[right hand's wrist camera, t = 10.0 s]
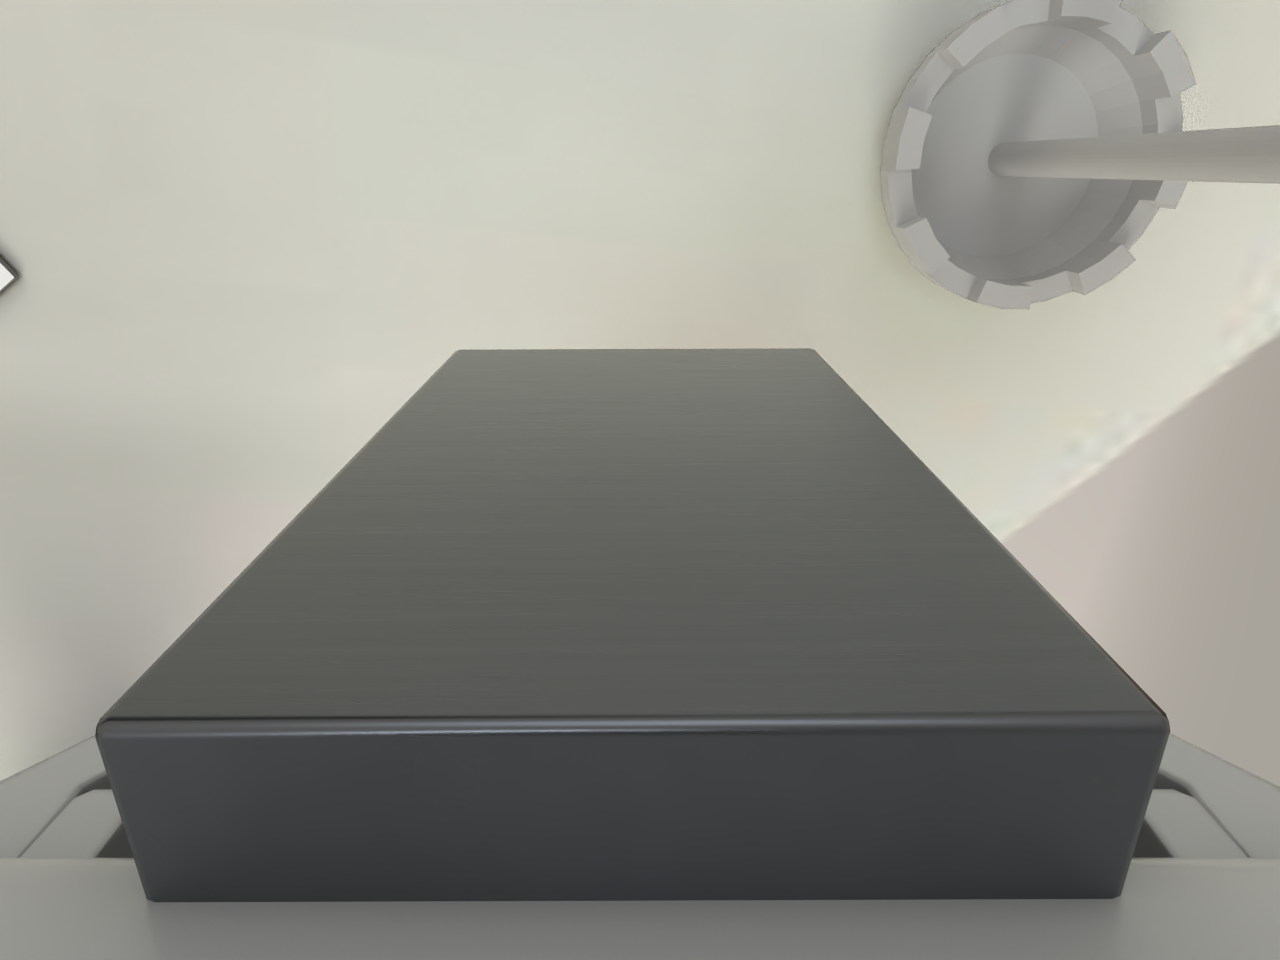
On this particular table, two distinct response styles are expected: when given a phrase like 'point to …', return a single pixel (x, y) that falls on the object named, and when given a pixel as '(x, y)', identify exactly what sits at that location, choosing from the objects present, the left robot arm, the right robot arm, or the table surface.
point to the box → (633, 665)
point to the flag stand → (1048, 150)
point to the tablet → (6, 275)
